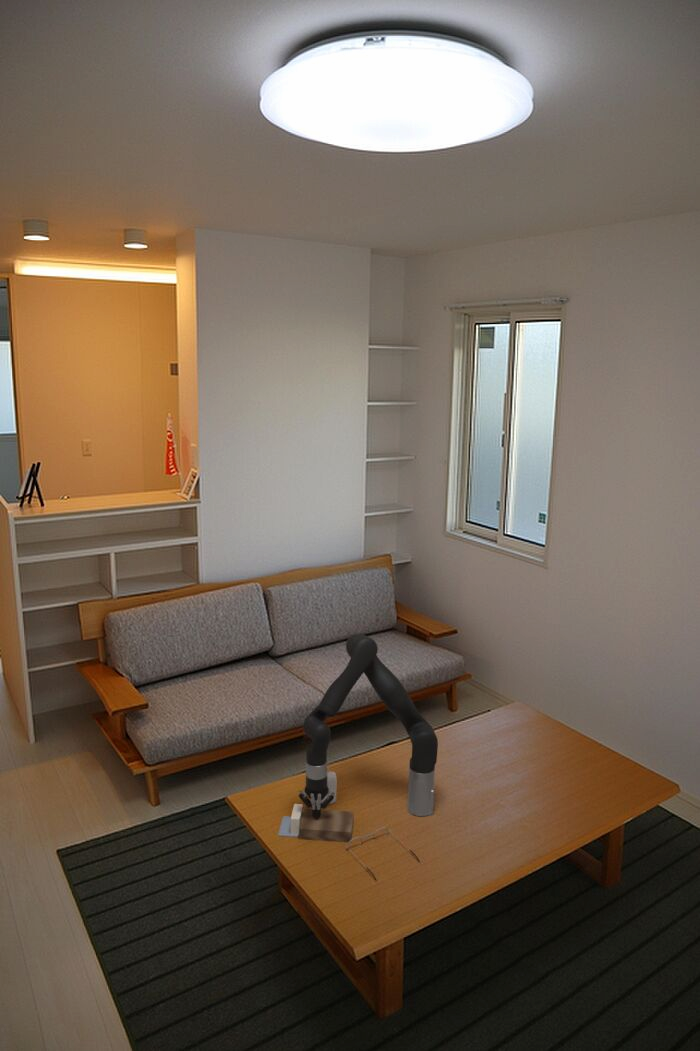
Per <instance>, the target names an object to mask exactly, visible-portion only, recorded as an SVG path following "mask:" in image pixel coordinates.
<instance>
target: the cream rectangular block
mask: <svg viewBox="0 0 700 1051" xmlns="http://www.w3.org/2000/svg"><path fill="white" fill-rule="evenodd" d="M303 807H304V803H303V804H302V803H300V804H299V803H294V805H293V808H292V812H291V816H290V817H291V834H296V835H298V836H299V827H300V823H301V819H302V814H303V810H304V808H303Z"/></svg>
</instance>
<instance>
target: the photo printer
mask: <svg viewBox="0 0 700 1051" xmlns="http://www.w3.org/2000/svg"><path fill="white" fill-rule="evenodd" d="M337 779H338V778H337V774H336V772H334V771H327V786H328V788H329V791H330V792H331V793H332V792H333V793H334V799H333V800H332V801H331V802H330V803H329V804H328V805H331V804H334V803H336V802H337V786H338V785H337ZM326 798H327V795H326V796H325V797H324V799H323V800H321V803H323V802H324V801H325V799H326ZM309 800H310V801H311V799H310V798H309ZM316 806H317V800H316Z"/></svg>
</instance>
